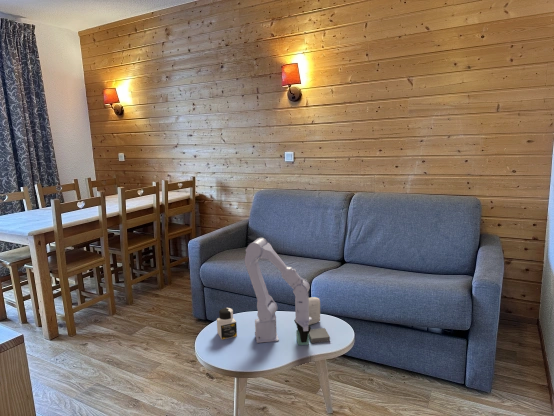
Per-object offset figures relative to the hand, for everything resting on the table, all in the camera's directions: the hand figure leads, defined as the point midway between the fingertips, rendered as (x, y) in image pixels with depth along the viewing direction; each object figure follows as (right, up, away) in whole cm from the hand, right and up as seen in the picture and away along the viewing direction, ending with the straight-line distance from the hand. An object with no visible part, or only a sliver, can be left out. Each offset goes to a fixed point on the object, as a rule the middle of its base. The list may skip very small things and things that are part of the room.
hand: (302, 338), depth 162 cm
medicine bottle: (-33, -1, +8) cm, 34 cm away
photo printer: (+5, +1, +17) cm, 18 cm away
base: (+7, -1, +4) cm, 8 cm away
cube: (0, -1, 0) cm, 1 cm away
